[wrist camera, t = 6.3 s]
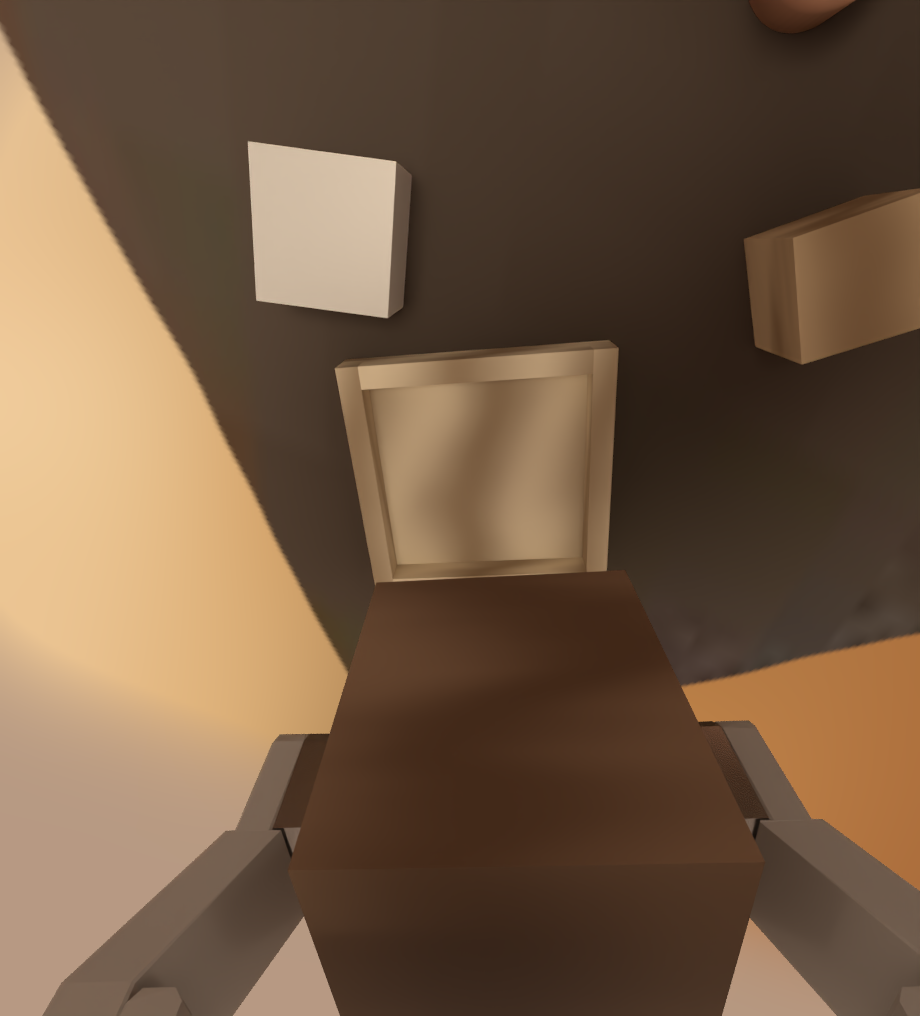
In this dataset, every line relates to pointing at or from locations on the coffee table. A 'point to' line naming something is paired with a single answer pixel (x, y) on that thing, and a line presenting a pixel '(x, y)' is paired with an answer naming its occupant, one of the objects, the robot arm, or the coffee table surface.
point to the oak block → (837, 277)
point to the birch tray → (483, 459)
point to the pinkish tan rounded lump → (796, 13)
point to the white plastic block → (329, 229)
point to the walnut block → (521, 812)
